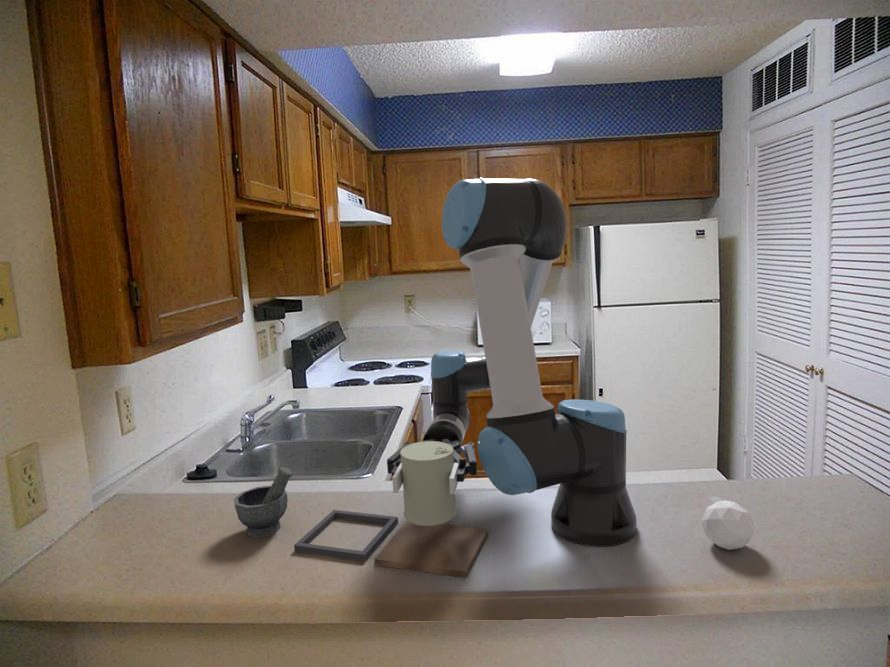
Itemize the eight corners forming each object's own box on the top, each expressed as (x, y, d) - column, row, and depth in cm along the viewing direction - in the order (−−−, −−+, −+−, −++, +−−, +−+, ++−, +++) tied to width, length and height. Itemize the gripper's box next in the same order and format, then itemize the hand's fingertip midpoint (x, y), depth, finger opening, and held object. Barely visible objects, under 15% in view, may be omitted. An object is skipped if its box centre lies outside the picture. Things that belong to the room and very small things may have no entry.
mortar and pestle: (232, 544, 105) (225, 482, 103) (243, 521, 114) (236, 464, 112) (294, 537, 106) (288, 476, 104) (300, 515, 115) (294, 458, 113)
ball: (720, 565, 94) (693, 533, 93) (717, 528, 101) (692, 497, 99) (766, 555, 90) (739, 520, 89) (760, 516, 97) (735, 484, 95)
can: (451, 527, 93) (447, 458, 91) (397, 524, 95) (392, 456, 93) (460, 502, 102) (458, 438, 100) (411, 499, 104) (407, 437, 102)
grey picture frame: (398, 522, 109) (397, 516, 109) (365, 561, 96) (364, 554, 96) (334, 515, 114) (333, 509, 114) (294, 551, 101) (293, 545, 101)
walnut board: (487, 534, 103) (487, 529, 103) (465, 577, 90) (465, 571, 90) (406, 525, 108) (406, 520, 108) (374, 564, 95) (374, 559, 95)
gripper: (497, 456, 114) (489, 508, 92) (393, 454, 117) (361, 505, 95) (496, 420, 113) (487, 465, 91) (391, 420, 116) (358, 463, 94)
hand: (423, 485), depth 93 cm, fingers closed on can, 9 cm apart
